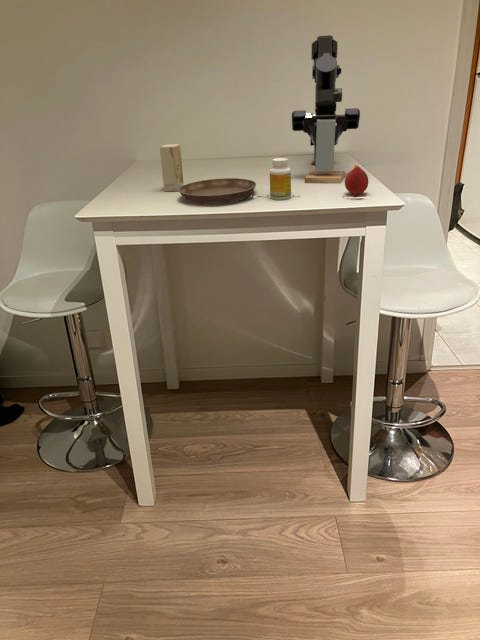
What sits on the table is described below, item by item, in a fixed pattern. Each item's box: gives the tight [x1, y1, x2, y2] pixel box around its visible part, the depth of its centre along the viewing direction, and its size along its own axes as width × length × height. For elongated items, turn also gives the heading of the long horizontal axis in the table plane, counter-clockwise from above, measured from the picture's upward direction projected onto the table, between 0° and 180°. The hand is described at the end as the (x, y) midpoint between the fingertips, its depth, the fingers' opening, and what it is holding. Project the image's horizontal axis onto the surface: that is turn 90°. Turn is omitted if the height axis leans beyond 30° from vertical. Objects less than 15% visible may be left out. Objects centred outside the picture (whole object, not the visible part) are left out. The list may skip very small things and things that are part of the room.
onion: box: [344, 164, 369, 198], centre depth 131 cm, size 6×6×8 cm
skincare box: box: [159, 143, 185, 192], centre depth 149 cm, size 6×4×12 cm
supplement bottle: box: [269, 157, 292, 201], centre depth 133 cm, size 5×5×10 cm
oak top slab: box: [304, 170, 345, 184], centre depth 150 cm, size 10×10×2 cm
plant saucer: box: [178, 177, 257, 205], centre depth 139 cm, size 21×21×3 cm
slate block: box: [314, 119, 337, 171], centre depth 146 cm, size 5×5×13 cm
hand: (325, 144), depth 145 cm, fingers closed on slate block, 5 cm apart
